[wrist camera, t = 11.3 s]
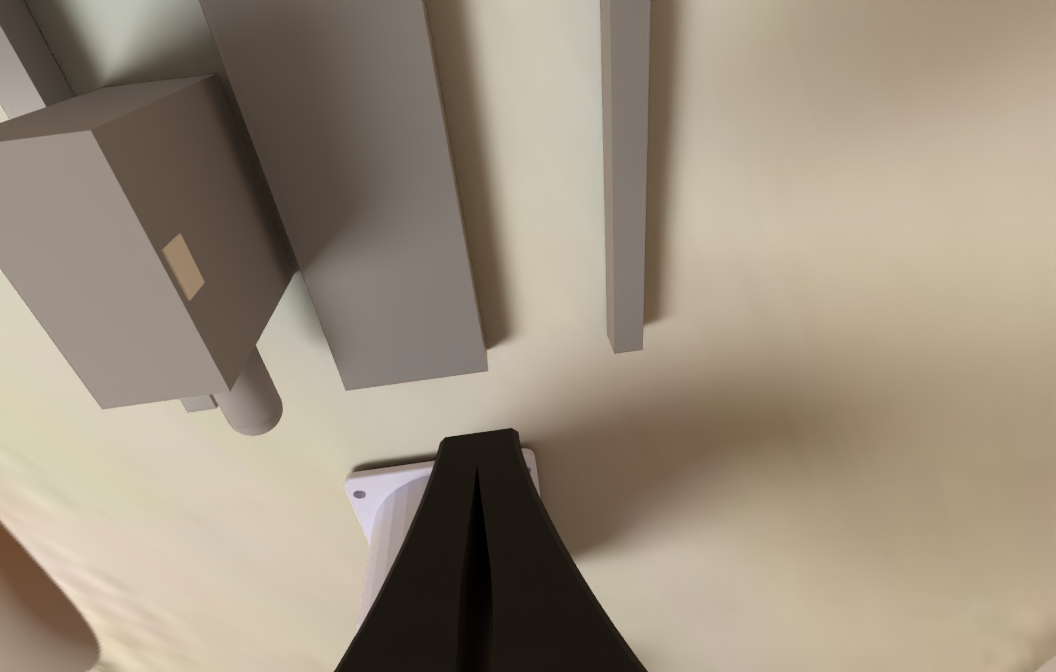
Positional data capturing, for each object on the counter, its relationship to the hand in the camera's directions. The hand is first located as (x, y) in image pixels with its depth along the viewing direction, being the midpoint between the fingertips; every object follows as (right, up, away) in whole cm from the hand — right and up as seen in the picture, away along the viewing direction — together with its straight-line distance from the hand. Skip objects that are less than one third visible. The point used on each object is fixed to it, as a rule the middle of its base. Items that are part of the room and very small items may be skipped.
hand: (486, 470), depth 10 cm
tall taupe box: (-8, +5, +7) cm, 12 cm away
